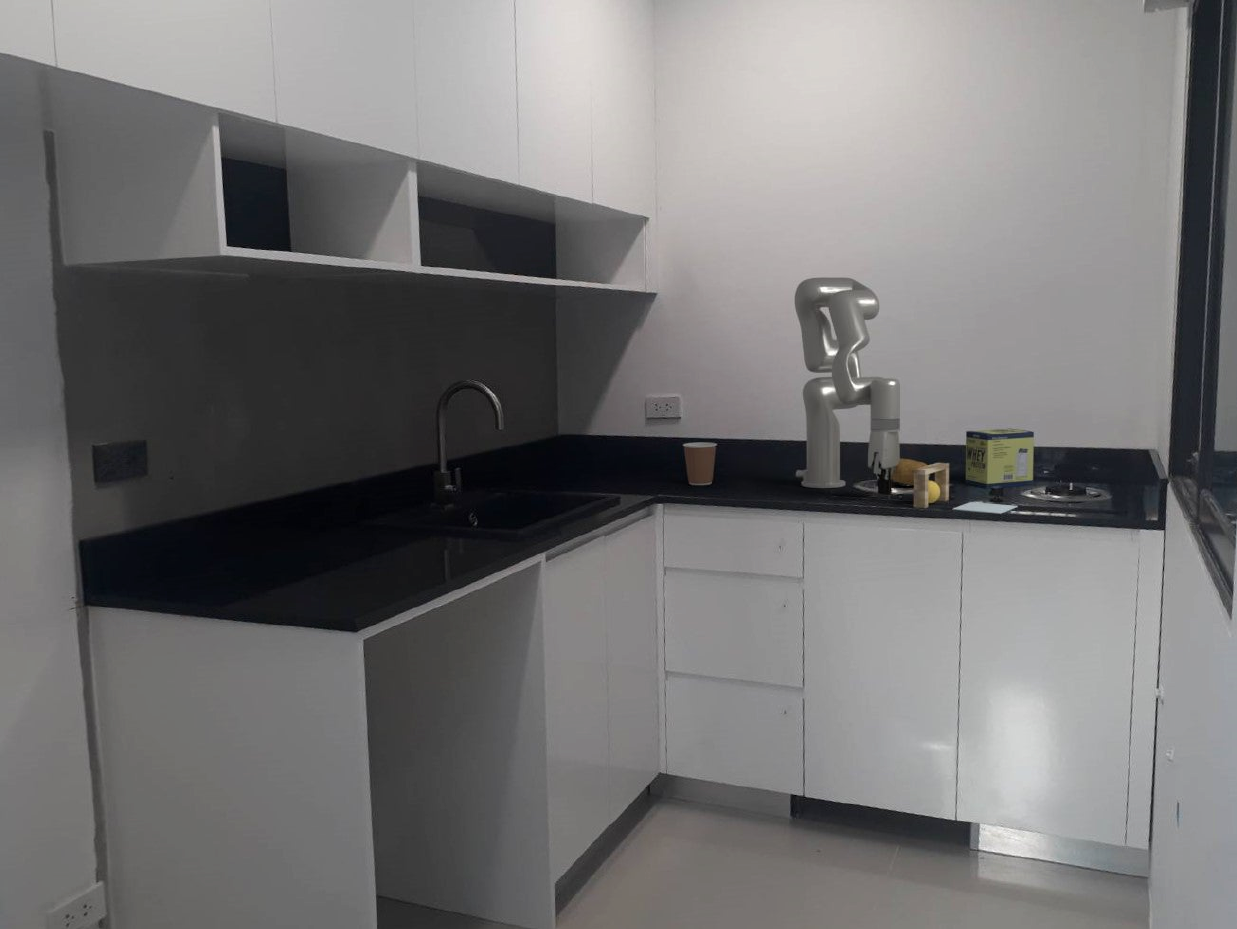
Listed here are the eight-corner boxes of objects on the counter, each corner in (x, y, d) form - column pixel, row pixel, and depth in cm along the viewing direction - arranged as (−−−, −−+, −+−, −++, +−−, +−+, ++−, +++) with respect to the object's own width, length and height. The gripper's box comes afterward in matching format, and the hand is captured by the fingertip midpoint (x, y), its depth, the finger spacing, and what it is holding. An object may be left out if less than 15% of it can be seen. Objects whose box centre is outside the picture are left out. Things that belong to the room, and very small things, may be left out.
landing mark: (952, 509, 260) (952, 508, 260) (970, 502, 269) (970, 502, 269) (1000, 513, 253) (1000, 513, 253) (1017, 506, 262) (1017, 505, 262)
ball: (932, 506, 266) (910, 502, 270) (942, 503, 271) (920, 499, 275) (935, 484, 265) (913, 479, 269) (945, 481, 270) (923, 477, 274)
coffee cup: (723, 482, 318) (722, 443, 316) (707, 486, 309) (707, 446, 308) (693, 480, 323) (692, 441, 322) (677, 484, 315) (676, 445, 313)
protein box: (964, 484, 301) (965, 430, 299) (1010, 480, 306) (1011, 428, 304) (986, 489, 291) (987, 433, 289) (1034, 485, 296) (1035, 430, 294)
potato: (914, 491, 290) (915, 462, 289) (878, 485, 303) (878, 458, 302) (939, 488, 295) (940, 460, 294) (903, 482, 307) (903, 455, 306)
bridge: (913, 507, 265) (914, 469, 264) (937, 499, 277) (938, 462, 275) (924, 508, 263) (925, 470, 262) (948, 499, 275) (949, 463, 273)
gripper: (884, 422, 284) (884, 489, 286) (858, 427, 272) (858, 496, 275) (910, 423, 279) (910, 491, 281) (885, 428, 268) (885, 498, 270)
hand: (884, 493), depth 278 cm, fingers closed
